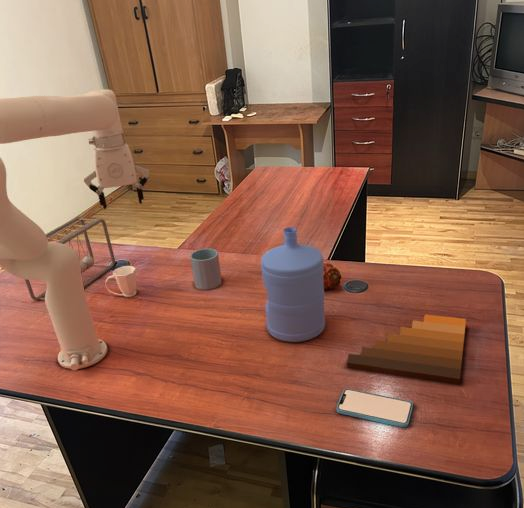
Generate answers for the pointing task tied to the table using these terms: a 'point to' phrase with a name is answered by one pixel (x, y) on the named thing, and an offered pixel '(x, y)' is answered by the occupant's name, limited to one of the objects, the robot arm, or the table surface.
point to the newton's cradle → (87, 260)
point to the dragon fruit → (331, 276)
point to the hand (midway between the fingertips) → (123, 204)
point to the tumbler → (206, 269)
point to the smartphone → (375, 407)
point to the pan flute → (418, 351)
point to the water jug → (294, 290)
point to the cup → (125, 280)
